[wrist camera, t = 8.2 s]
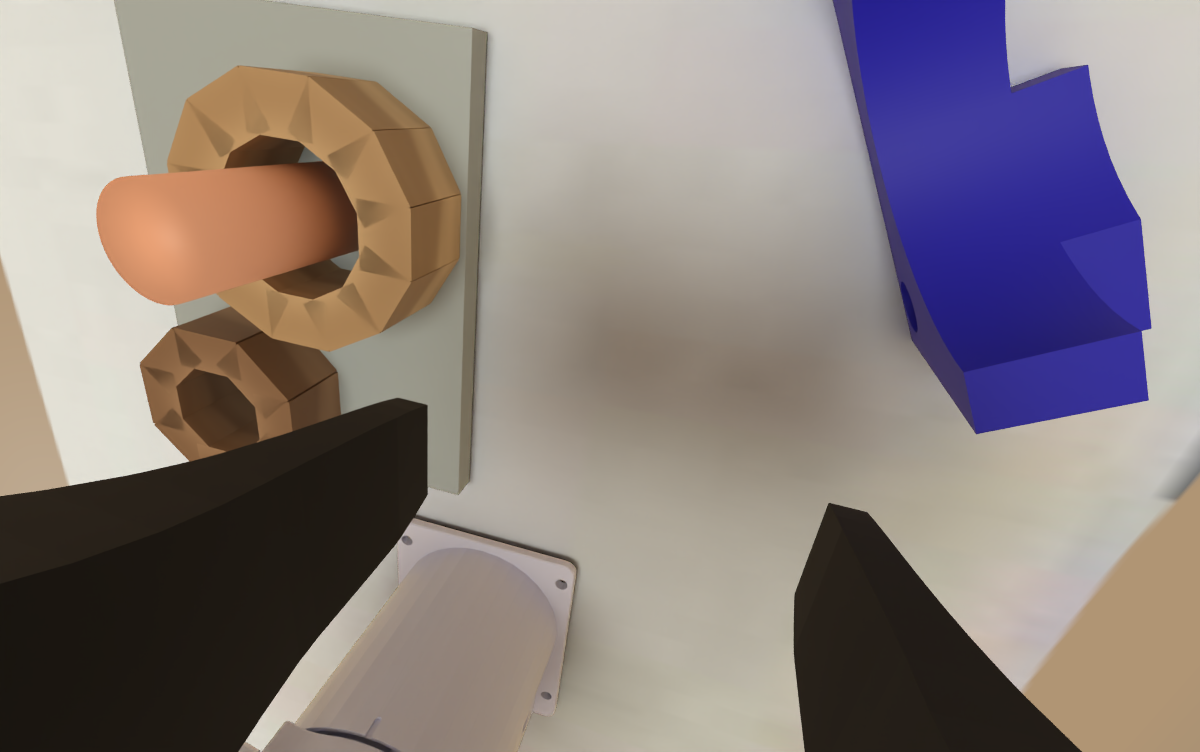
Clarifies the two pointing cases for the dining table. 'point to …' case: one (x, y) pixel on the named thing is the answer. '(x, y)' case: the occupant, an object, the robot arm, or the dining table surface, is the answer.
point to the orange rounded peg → (223, 227)
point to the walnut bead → (234, 385)
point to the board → (336, 47)
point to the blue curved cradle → (998, 214)
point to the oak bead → (370, 178)
